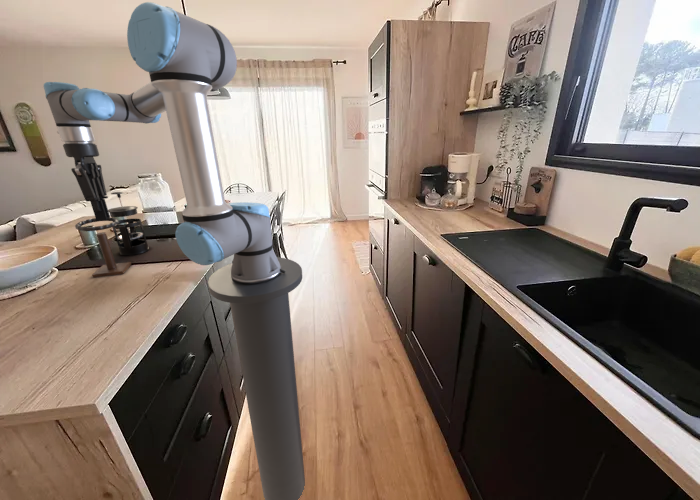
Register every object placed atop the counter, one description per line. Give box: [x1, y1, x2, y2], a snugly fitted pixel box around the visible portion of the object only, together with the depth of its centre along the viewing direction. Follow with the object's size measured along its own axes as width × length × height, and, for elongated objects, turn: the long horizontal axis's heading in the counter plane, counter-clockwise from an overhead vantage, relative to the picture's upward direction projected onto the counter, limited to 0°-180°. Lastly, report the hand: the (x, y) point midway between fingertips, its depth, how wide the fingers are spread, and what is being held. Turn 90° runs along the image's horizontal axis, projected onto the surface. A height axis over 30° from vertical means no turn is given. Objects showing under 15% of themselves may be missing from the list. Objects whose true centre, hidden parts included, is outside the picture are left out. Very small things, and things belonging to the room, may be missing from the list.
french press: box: [108, 191, 150, 257], centre depth 107 cm, size 12×9×23 cm
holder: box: [91, 231, 132, 278], centre depth 93 cm, size 8×8×13 cm
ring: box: [74, 216, 119, 232], centre depth 89 cm, size 10×10×1 cm
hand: (103, 219), depth 93 cm, fingers closed on ring, 1 cm apart
